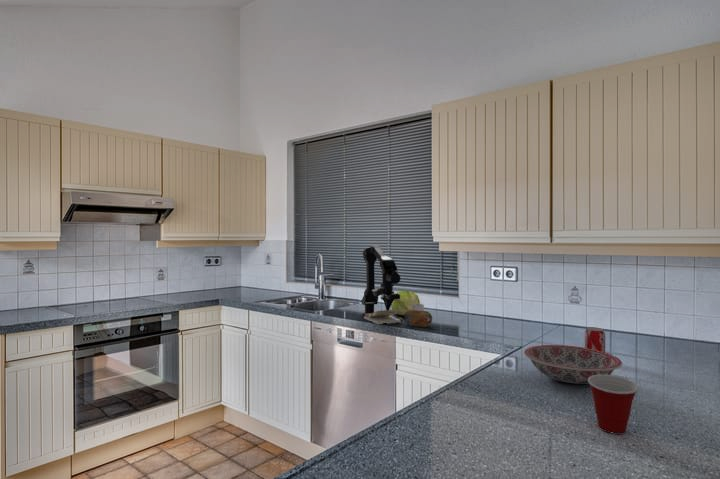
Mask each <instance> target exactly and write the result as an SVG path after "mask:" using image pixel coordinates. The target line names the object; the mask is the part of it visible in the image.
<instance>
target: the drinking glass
mask: <svg viewBox="0 0 720 479" xmlns="http://www.w3.org/2000/svg"><path fill="white" fill-rule="evenodd" d="M412 310H419V311H425V304H424V303H420V304H412Z"/></svg>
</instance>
